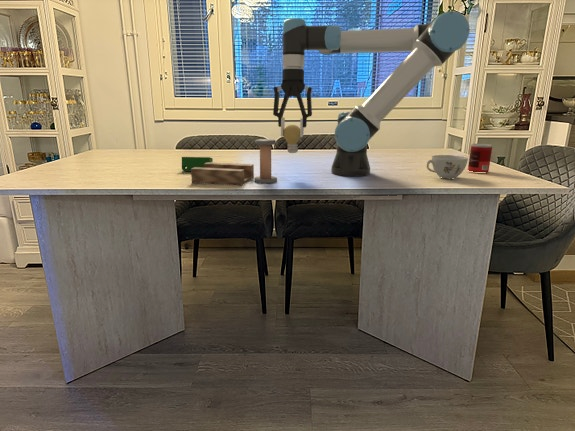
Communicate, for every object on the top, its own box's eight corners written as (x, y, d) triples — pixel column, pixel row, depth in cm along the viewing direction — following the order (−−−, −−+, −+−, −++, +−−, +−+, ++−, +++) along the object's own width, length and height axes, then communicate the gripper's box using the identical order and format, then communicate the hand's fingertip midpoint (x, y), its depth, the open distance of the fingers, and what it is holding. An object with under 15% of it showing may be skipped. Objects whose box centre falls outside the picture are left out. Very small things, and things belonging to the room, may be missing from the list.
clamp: (208, 180, 164) (217, 160, 163) (204, 180, 158) (213, 159, 157) (181, 168, 164) (190, 148, 164) (177, 167, 158) (186, 146, 158)
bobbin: (279, 179, 145) (279, 139, 141) (273, 184, 138) (273, 141, 134) (258, 178, 147) (257, 138, 143) (251, 183, 139) (250, 141, 135)
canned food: (489, 171, 164) (493, 144, 160) (486, 174, 157) (491, 146, 154) (469, 169, 168) (473, 143, 164) (465, 172, 161) (469, 145, 158)
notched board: (253, 177, 148) (253, 164, 147) (241, 185, 135) (240, 171, 134) (208, 175, 152) (207, 162, 151) (191, 183, 139) (190, 168, 137)
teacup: (454, 174, 157) (457, 153, 155) (472, 180, 145) (475, 158, 143) (418, 175, 156) (420, 154, 153) (432, 181, 144) (435, 159, 141)
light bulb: (281, 153, 145) (280, 125, 142) (287, 151, 151) (286, 124, 148) (298, 154, 143) (298, 125, 140) (303, 151, 149) (303, 124, 146)
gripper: (322, 69, 140) (319, 136, 147) (268, 69, 144) (268, 134, 151) (319, 68, 133) (317, 138, 140) (263, 67, 137) (263, 136, 144)
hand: (292, 136), depth 145 cm, fingers closed on light bulb, 6 cm apart
